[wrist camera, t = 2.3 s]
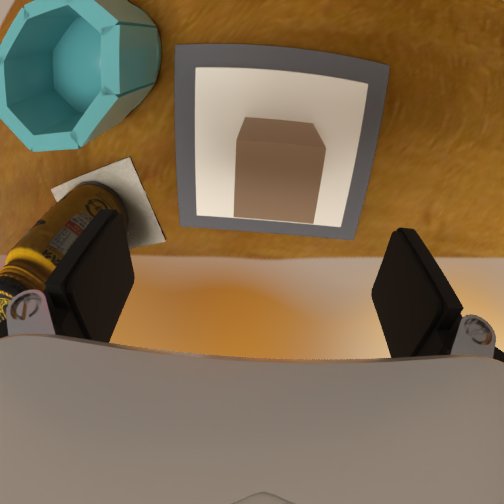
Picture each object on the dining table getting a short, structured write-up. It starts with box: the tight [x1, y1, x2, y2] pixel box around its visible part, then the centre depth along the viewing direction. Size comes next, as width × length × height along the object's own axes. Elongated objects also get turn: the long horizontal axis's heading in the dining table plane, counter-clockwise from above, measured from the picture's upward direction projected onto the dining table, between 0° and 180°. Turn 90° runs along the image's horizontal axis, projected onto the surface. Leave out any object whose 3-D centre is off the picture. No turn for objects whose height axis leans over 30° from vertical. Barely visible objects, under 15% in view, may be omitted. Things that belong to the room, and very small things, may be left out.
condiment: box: [0, 157, 165, 322], centre depth 18 cm, size 7×8×12 cm
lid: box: [195, 67, 368, 227], centre depth 17 cm, size 10×10×6 cm
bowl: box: [0, 0, 162, 152], centre depth 14 cm, size 9×9×6 cm
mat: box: [174, 44, 390, 240], centre depth 19 cm, size 13×13×1 cm
